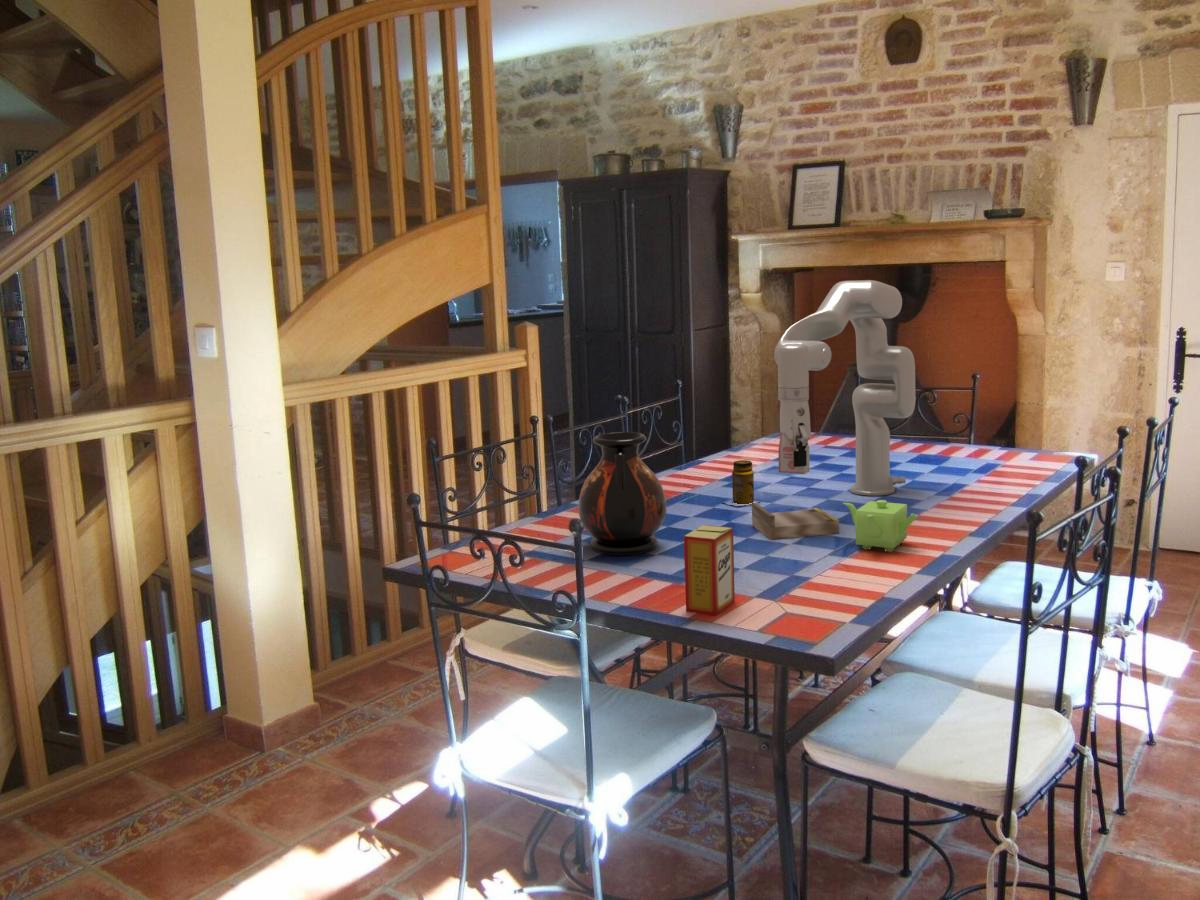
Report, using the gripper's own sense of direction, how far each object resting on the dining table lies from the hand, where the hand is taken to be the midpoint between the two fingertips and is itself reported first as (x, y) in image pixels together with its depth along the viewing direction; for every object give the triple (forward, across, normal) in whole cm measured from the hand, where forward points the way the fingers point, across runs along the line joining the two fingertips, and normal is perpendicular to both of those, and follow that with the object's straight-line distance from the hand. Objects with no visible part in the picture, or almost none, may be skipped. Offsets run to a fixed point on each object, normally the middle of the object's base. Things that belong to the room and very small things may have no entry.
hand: (794, 462), depth 263 cm
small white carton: (+3, 0, 0) cm, 3 cm away
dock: (+17, 0, 0) cm, 17 cm away
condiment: (+18, +32, +4) cm, 37 cm away
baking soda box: (+18, -50, +37) cm, 65 cm away
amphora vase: (+18, -2, +45) cm, 48 cm away
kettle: (+18, -21, -13) cm, 30 cm away
